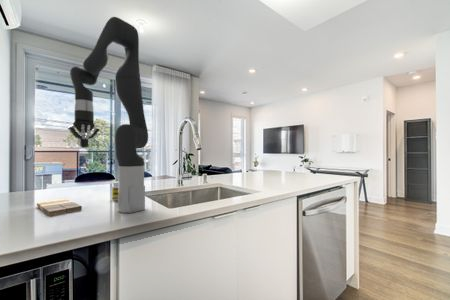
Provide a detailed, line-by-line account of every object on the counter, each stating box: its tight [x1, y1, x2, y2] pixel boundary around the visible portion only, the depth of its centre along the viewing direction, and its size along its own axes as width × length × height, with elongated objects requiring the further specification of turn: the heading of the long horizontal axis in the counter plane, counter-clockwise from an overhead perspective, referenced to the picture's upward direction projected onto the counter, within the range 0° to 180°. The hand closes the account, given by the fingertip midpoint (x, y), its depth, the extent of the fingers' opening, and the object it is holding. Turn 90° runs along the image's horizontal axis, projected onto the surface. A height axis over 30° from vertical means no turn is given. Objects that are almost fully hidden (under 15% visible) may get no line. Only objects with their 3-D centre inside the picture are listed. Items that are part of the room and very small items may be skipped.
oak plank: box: [36, 198, 72, 212], centre depth 87 cm, size 10×10×2 cm
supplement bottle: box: [111, 181, 118, 202], centre depth 99 cm, size 5×5×8 cm
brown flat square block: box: [42, 201, 83, 217], centre depth 80 cm, size 10×10×2 cm
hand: (84, 147), depth 98 cm, fingers closed
